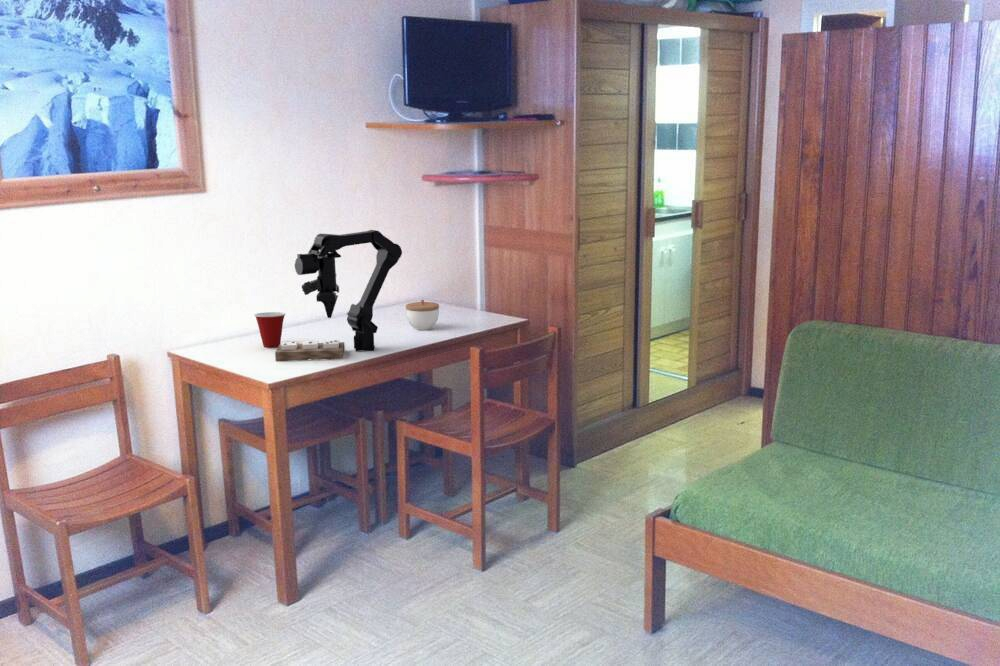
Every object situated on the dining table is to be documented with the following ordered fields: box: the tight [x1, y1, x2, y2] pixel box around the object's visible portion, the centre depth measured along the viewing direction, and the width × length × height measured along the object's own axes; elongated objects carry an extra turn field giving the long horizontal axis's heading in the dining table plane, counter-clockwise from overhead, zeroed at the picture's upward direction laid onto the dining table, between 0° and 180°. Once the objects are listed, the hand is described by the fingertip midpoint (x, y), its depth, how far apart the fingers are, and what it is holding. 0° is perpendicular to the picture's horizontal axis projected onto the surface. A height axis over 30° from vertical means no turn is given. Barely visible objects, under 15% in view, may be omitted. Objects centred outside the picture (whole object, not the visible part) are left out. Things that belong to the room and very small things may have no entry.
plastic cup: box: [253, 311, 286, 349], centre depth 335 cm, size 11×11×12 cm
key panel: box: [274, 341, 346, 362], centre depth 321 cm, size 22×12×3 cm, turn 96°
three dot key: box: [322, 339, 340, 349], centre depth 322 cm, size 5×5×2 cm
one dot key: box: [301, 340, 319, 349], centre depth 321 cm, size 5×5×2 cm
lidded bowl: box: [405, 299, 440, 331], centre depth 362 cm, size 13×13×11 cm
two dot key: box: [280, 341, 299, 350], centre depth 320 cm, size 5×5×2 cm
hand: (329, 317), depth 320 cm, fingers closed
